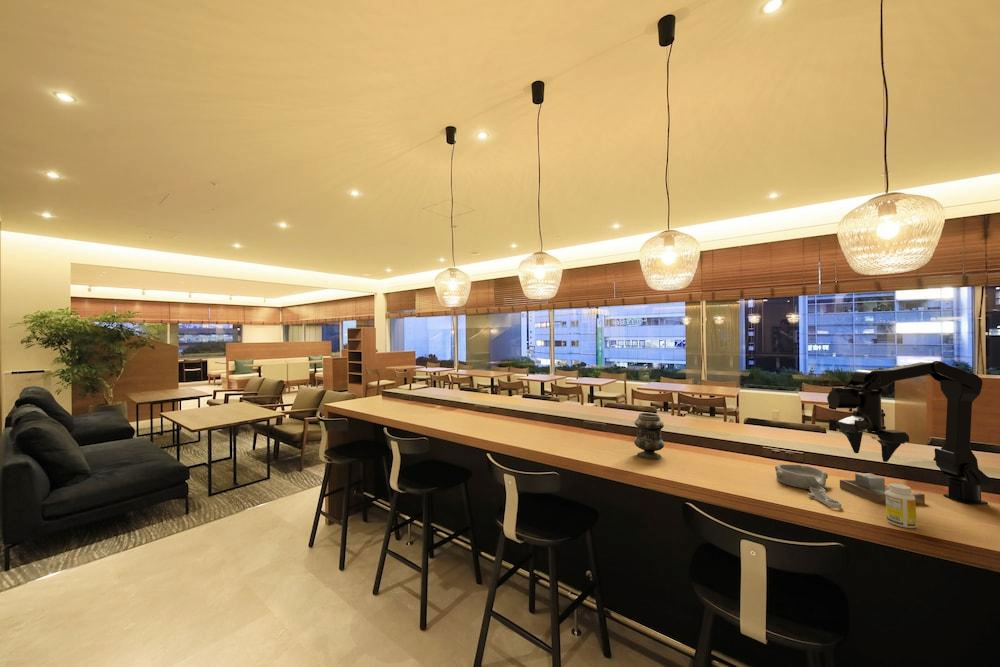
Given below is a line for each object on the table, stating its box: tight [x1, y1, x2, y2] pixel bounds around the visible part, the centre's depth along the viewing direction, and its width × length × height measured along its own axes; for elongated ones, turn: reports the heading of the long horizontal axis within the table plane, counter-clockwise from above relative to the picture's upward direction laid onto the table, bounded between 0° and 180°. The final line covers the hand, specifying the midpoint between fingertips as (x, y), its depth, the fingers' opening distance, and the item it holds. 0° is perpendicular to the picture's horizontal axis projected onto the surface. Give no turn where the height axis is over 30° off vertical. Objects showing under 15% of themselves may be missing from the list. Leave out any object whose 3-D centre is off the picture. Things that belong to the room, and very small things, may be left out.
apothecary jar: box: [633, 412, 665, 461], centre depth 162 cm, size 12×12×18 cm
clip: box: [854, 472, 886, 494], centre depth 120 cm, size 5×4×5 cm
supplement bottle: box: [885, 482, 917, 529], centre depth 101 cm, size 6×6×10 cm
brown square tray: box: [839, 479, 926, 505], centre depth 120 cm, size 14×13×3 cm
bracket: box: [807, 486, 842, 510], centre depth 117 cm, size 8×2×15 cm
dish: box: [774, 463, 829, 490], centre depth 130 cm, size 14×14×5 cm
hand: (870, 457), depth 121 cm, fingers open, 9 cm apart
